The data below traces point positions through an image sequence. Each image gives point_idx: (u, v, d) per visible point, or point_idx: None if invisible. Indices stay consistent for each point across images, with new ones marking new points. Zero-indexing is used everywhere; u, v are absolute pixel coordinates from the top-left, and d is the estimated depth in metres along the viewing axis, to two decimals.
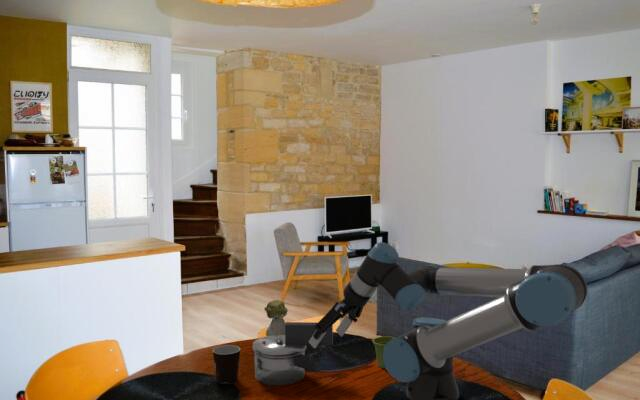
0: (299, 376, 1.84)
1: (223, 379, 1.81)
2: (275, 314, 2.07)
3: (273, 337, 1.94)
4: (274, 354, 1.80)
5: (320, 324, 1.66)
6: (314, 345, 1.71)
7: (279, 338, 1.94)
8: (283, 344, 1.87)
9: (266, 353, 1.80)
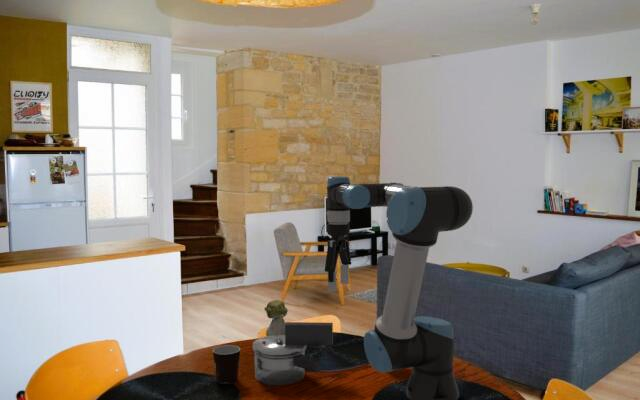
0: (299, 376, 1.84)
1: (223, 379, 1.81)
2: (275, 314, 2.07)
3: (273, 337, 1.94)
4: (274, 354, 1.80)
5: (327, 264, 1.88)
6: (334, 289, 1.91)
7: (279, 338, 1.94)
8: (283, 344, 1.87)
9: (266, 353, 1.80)
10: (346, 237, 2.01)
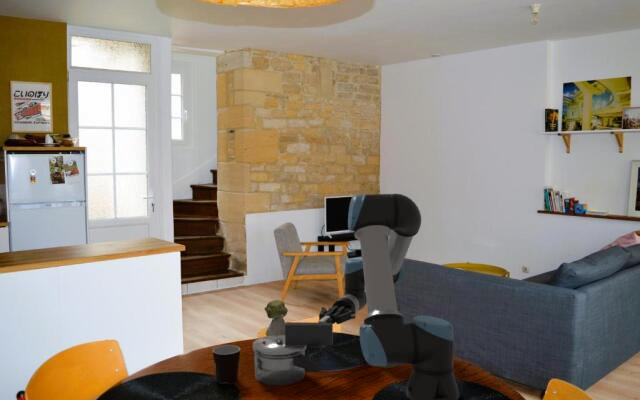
0: (299, 376, 1.84)
1: (223, 379, 1.81)
2: (275, 314, 2.07)
3: (273, 337, 1.94)
4: (274, 354, 1.80)
5: None
6: None
7: (279, 338, 1.94)
8: (283, 344, 1.87)
9: (266, 353, 1.80)
10: None
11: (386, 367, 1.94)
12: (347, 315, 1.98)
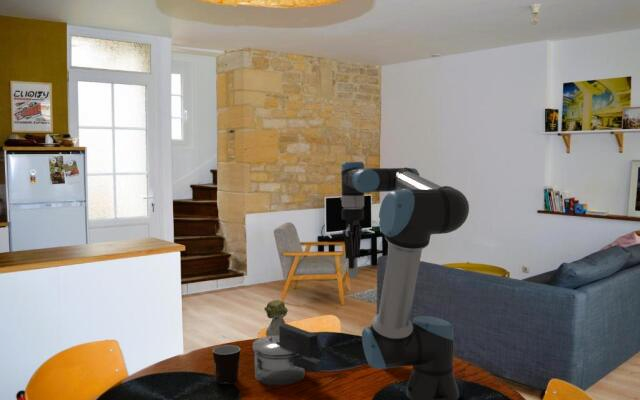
0: (299, 376, 1.84)
1: (223, 379, 1.81)
2: (275, 314, 2.07)
3: None
4: (256, 350, 1.83)
5: (347, 253, 1.94)
6: (354, 275, 1.97)
7: None
8: (278, 345, 1.86)
9: (253, 348, 1.85)
10: (360, 227, 2.02)
11: None
12: None
